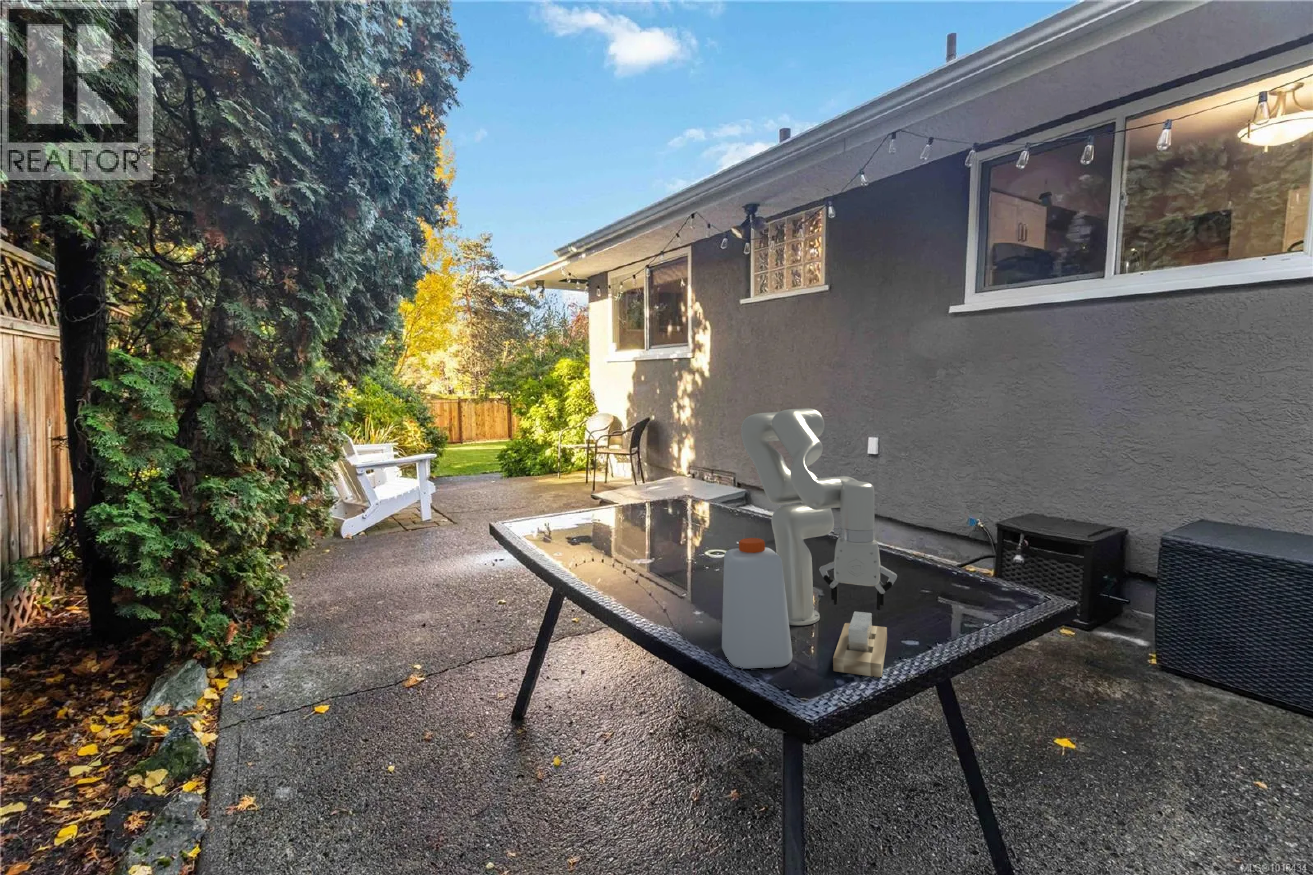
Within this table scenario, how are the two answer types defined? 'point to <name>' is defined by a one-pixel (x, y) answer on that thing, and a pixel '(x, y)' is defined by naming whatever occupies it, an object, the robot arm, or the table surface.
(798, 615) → the robot arm
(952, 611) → the table surface
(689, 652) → the table surface
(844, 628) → the birch rail
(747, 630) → the plastic bottle
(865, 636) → the brushed steel block
